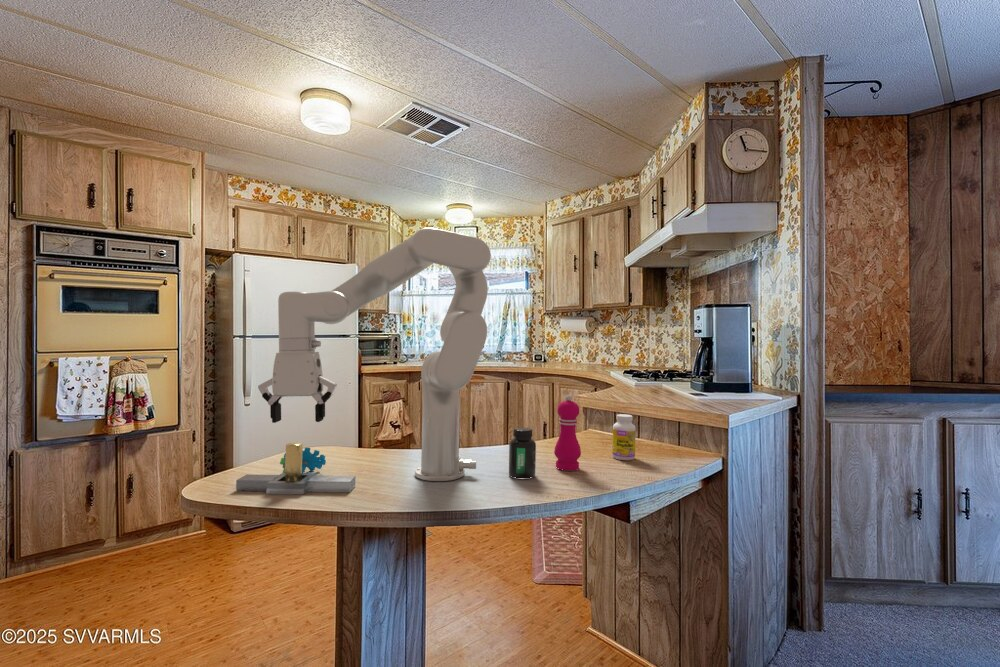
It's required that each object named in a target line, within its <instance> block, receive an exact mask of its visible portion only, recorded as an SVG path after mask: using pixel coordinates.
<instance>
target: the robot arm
mask: <svg viewBox="0 0 1000 667" xmlns="http://www.w3.org/2000/svg"><path fill="white" fill-rule="evenodd" d="M491 256H492V254H491V250H490V247H489V246H488V243H486V242H485V241H484V240H482V239H481V238H479V237H476V236H472V235H467V234H463V233H459V232H453V231H449V230H444V229H439V228H434V227H424V228H421V229H418V230H417V231H416V232H415V233H414V234H412V235H411V236H410V237H408V238H407V239H406V240H403V241H402V242H400V243H399V244H397V245H395V246H394V247H392V248H391V249H389V250H388V251H386V252H384V253H382V254H381V255H380V256H378V257H376V258H374V259H372V260H371V261H370V262H369V263H367V264H366V265H365V266H364V267H363V268H362V269H360V271H358V272H357V273H356V274H355V275H353V276H352V277H350V278H348V280H346V281H345V282H343V283H342V284H340V285H339V286H337V287H335V288H334V289H332V290H327V291H320V292H319V291H318V292H306V291H283V292H282V293H280V294H279V296H278V300H277V302H278V305H277V306H278V308H277V309H278V310H277V311H278V312H277V313H278V315H277V316H278V352H276V354H275V357H274V361H273V369H272V377H271V378H270V379H268V380H267V381H264V382H263V383H261V384H259V385H257V388H258V391H259V393H260V394H261V397H262V399H264V400H265V401H266V402H267V404H268V405H269V407H270V408H269V409H270V411H269V412H270V416H269V417H270V419H271V422H272V424H273V423H274V424H276V423H278V422H280V421H282V404H281V402H280V401H281V399H282V398H283V397H312V398H313V399H314V400H315V401H316V404H315V406H314V412H315V414H314V415H315V416H314V417H315V422H316V423H321V421H324V418H326V403H327V402H328V400H329V399H331V397H332V396H333V395H334V392H335V390H336V388H337V387H338V384H337V383H335V382H334V381H332V380H330V379H328V378H326V377H324V376H323V367H322V361H321V356H320V352H319V351H316V349H317V348H320V347H321V345H322V341H321V340H317V339H316V336H315V322H316V323H323V324H325V325H335V324H339V323H341V322H343V321H345V319H346V318H347V317H349V316H351V315H352V314H353V313H355V312H357V311H358V310H360V309H361V308H363V307H365V306H366V305H367V304H369V303H371V302H373V301H375V300H377V299H378V298H380V297H383V296H386V295H388V293H391V292H392V291H393V290H395V289H397V288H399V287H401V285H403V284H405V283H406V282H407V281H409V280H411V279H412V278H413V277H415V276H417V275H419V273H421V272H423V271H424V270H425V269H427V268H429V267H431V266H432V265H434V264H436V265H439V266H444V267H448V269H449V271H450V273H451V274H452V276H453V278H454V281H455V289H454V293H453V295H452V296H453V297H452V299H451V301H450V304H449V306H448V309H447V311H446V313H445V316H444V318H443V320H442V322H441V325H440V331H439V335H440V338H441V340H442V342H443V343H442V347H441V350H440V349H439V350H436V351H435V350H434V351H433V352H431V353H430V354H428V355H427V356H426V358H424V361H423V363H422V365H421V372H420V373H421V374H420V375H421V376H420V377H421V388H422V389H421V390H422V413H421V414H422V418H421V421H422V422H421V457H420V462H421V463H420V466H419V467H416V469H414V476H415V477H416V478H418V479H419V480H423V481H428V482H448V481H453V480H459V479H461V478H463V477H464V476H465V472H466V469H468V470H476V469H477V461H476V460H473V459H464V458H462V457H461V456H462V455H461V454H460V425H461V422H460V420H461V416H460V414H461V396H460V390H462V389H464V388H465V387H466V386H467V385H468V384H469V383H470V381H471V378H472V377H473V374H474V372H475V370H476V368H477V365H478V363H479V361H480V360H479V359H480V357H481V355H482V351H483V350H484V346H485V344H486V340H487V336H488V326H487V321H486V320H485V318H484V317H483V316H482V314H483V310H484V307H485V306H486V302H487V298H488V282H487V279H486V275H485V273H484V270H485V269H486V268H487V267H488V265H489V264H490V262H491V260H492V258H491ZM271 386H272V387H271ZM324 386H325V387H327V390H326V392H324V394H323V390H324ZM269 387H271V388H272V393H271V392H269ZM472 460H473V461H472Z"/></svg>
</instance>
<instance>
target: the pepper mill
mask: <svg viewBox="0 0 1000 667" xmlns="http://www.w3.org/2000/svg"><path fill="white" fill-rule="evenodd" d="M572 399H573V397H572V396H571V394H567V395H566V396H565V400H563V401H561V402H560V403H559V404H558V406H557V414H558V416H559V418H558V424H559V425H560V426H559V427H560V430H559V431H560V433H559V436H558V439H557V441H556V443H555V446H554V452H553V453H554V456H555V457H556V458H557V460H555V468H556V467H557V468H559V469H563V470H576V471H578V470H579V468H580V462H579V460H578V459H580V457H581V456H582V450H581V446H580V444H579V441H578V439H577V438H578V437H577V434H576V426H577V425H578V418H577V417H578V416H579V414H580V406H579V404H577V402H575V401H573V400H572ZM557 468H556V469H557ZM559 469H558V470H559ZM577 469H578V470H577ZM563 470H562V471H563Z"/></svg>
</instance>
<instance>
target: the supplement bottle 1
mask: <svg viewBox="0 0 1000 667" xmlns="http://www.w3.org/2000/svg"><path fill="white" fill-rule="evenodd" d="M512 436H513V438H511V440H510V441H509V445H508V475H510V476H512V477H516V478H530V477H534V478H535V476H536V467H537V466H536V465H537V463H536V462H537V461H536V460H537V444H536V441H535V440H534V439H533V438H532V437H533V429H532V428H530V427H514V428H513V433H512ZM510 476H509V477H510ZM512 477H511V478H512Z"/></svg>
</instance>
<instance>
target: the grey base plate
mask: <svg viewBox="0 0 1000 667" xmlns="http://www.w3.org/2000/svg"><path fill="white" fill-rule="evenodd" d="M356 478H357V477H356V475H320V474H319V475H318V472H317V473H316V472H303V473H302V480H301V481H285V473H283V472H282V473H280V474H245V475H243V476H242V477H238V478H237V479H236V482H235V483H236V484H235V486H236V487H235V491H236V490H237V491H236V492H242V491H241V490H245V491H244V492H266V493H265V494H266V495H293V494H304V493H305V494H306V493H347V492H350V491H351V490H352V491H353V489H354V488H355V487H356ZM307 491H308V492H307ZM311 491H312V492H311ZM352 491H351V492H352ZM351 492H350V493H351ZM305 494H304V495H305Z"/></svg>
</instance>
